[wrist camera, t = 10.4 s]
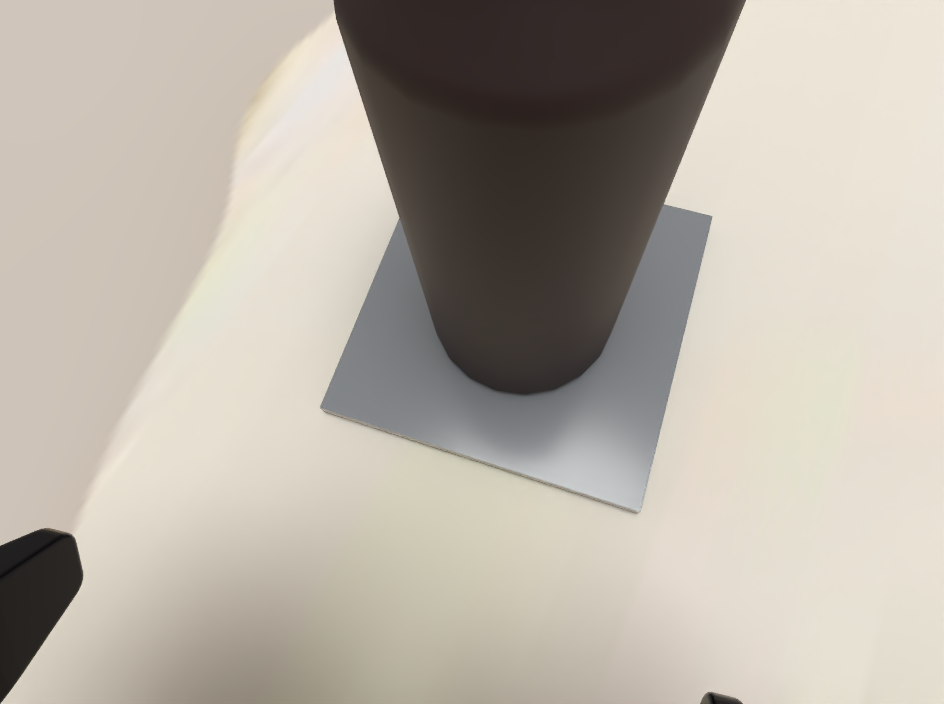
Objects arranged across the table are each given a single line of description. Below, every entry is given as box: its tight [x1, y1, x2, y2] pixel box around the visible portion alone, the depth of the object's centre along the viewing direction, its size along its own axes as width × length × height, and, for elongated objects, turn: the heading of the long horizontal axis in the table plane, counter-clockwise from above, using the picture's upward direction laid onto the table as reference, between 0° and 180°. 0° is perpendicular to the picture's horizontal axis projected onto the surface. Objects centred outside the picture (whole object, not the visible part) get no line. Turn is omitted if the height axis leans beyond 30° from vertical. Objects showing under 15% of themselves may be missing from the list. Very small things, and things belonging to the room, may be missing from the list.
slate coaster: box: [320, 204, 712, 513], centre depth 24 cm, size 12×12×1 cm
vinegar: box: [334, 0, 746, 394], centre depth 15 cm, size 7×7×20 cm
